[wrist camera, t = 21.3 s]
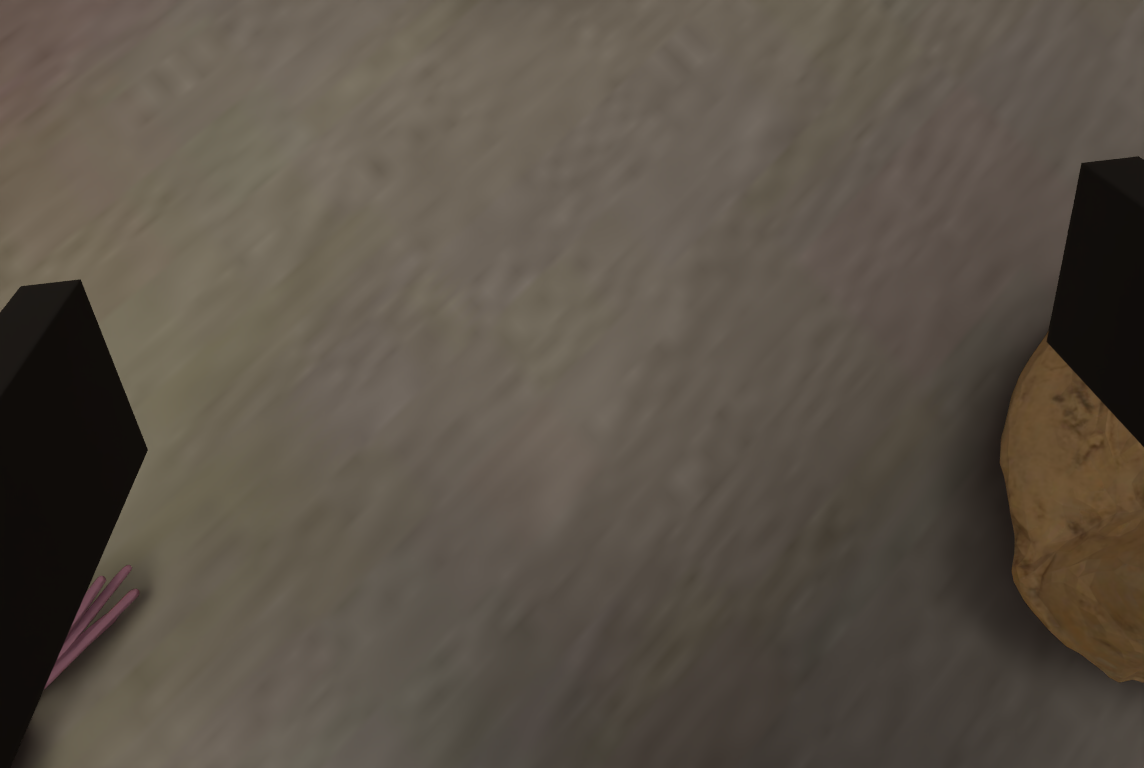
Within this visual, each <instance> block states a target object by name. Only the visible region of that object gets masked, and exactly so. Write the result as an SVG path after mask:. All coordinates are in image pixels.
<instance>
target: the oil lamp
mask: <svg viewBox="0 0 1144 768" xmlns="http://www.w3.org/2000/svg"><path fill="white" fill-rule="evenodd" d="M1047 337H1048V332H1047V334H1046V336H1045V337H1044V339H1043V340H1042V342H1041V343H1040V345H1039V346H1038V347H1037V349H1036V350H1035V352H1034V353H1033V354H1032V356H1031V357H1030V359H1029V361H1028V362H1027V364H1026V366H1025V367H1024V369H1023V371H1022V372H1021V374H1020V376H1019V379H1018V381H1017V384H1016V386H1015V389H1014V391H1013V393H1012V396H1011V401H1010V405H1009V409H1008V413H1007V417H1006V422H1005V426H1004V430H1003V433H1002V437H1001V451H1000V465H1001V468H1002V471H1003V474H1004V478H1005V484H1006V490H1007V496H1008V502H1009V508H1010V514H1011V519H1012V524H1013V529H1014V534H1015V551H1014V559H1013V564H1012V575H1013V580H1014V583H1015V585H1016V587H1017V589H1018V590H1019V592H1020V594H1021V596H1022V598H1023V600H1024V601H1025V602H1026V604H1027V605H1028V606H1029V608H1030V609H1031V610H1032V611H1033V613H1034V614H1035V615H1036V616H1037V617H1038V618H1039V619H1040V621H1041V622H1042V623H1043V624H1044V625H1045V626H1046V627H1047V628H1048V630H1049V631H1050V632H1051V633H1052V634H1053V635H1054V636H1056V637H1057V638H1058V639H1059V640H1060V641H1061V642H1062V643H1063V644H1064V645H1065V646H1066V647H1068V648H1070V649H1072V650H1074V651H1076V652H1078V653H1080V654H1081V655H1082V656H1084V657H1085V658H1086V659H1088V660H1089V661H1090V662H1091V663H1093V664H1094V665H1095V666H1097V667H1098V668H1099V669H1101V670H1102V671H1103V672H1104V673H1105V674H1106V675H1107V676H1108V677H1110V678H1111V679H1113V680H1115V681H1117V682H1119V683H1120V682H1124V681H1129V680H1136V681H1140V682H1143V683H1144V447H1143V446H1142V445H1141V444H1140V443H1139V442H1138V441H1137V439H1136V438H1135V437H1134V436H1133V435H1132V434H1131V433H1130V432H1129V431H1128V430H1127V429H1126V428H1125V426H1124V425H1123V424H1122V423H1121V422H1120V421H1119V420H1118V419H1117V418H1116V417H1115V416H1114V414H1113V413H1112V412H1111V411H1110V410H1109V409H1108V408H1107V407H1106V406H1105V405H1104V404H1103V403H1102V401H1101V400H1100V399H1099V398H1098V397H1097V396H1096V395H1095V394H1094V393H1093V392H1092V391H1091V390H1090V388H1089V387H1088V386H1087V385H1086V384H1085V383H1084V382H1083V381H1082V380H1081V379H1080V378H1079V377H1078V375H1077V374H1076V373H1075V372H1074V371H1073V370H1072V369H1071V368H1070V367H1069V366H1068V365H1067V363H1066V362H1065V361H1064V360H1063V359H1062V358H1061V357H1060V356H1059V355H1058V354H1057V353H1056V352H1055V350H1054V349H1053V348H1052V347H1051V346H1050V345H1049V344H1048V343H1047Z"/></svg>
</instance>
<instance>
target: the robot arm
mask: <svg viewBox="0 0 1144 768" xmlns="http://www.w3.org/2000/svg"><path fill="white" fill-rule="evenodd" d="M1047 343H1048V344H1049V345H1050V346H1051V347H1052V348H1053V349H1054V350H1055V352H1056V353H1057V354H1058V355H1059V356H1060V357H1061V358H1062V359H1063V360H1064V361H1065V362H1066V363H1067V365H1068V366H1069V367H1070V368H1071V369H1072V370H1073V371H1074V372H1075V373H1076V374H1077V375H1078V377H1079V378H1080V379H1081V380H1082V381H1083V382H1084V383H1085V384H1086V385H1087V386H1088V387H1089V388H1090V390H1091V391H1092V392H1093V393H1094V394H1095V395H1096V396H1097V397H1098V398H1099V399H1100V400H1101V401H1102V403H1103V404H1104V405H1105V406H1106V407H1107V408H1108V409H1109V410H1110V411H1111V412H1112V413H1113V414H1114V416H1115V417H1116V418H1117V419H1118V420H1119V421H1120V422H1121V423H1122V424H1123V425H1124V426H1125V428H1126V429H1127V430H1128V431H1129V432H1130V433H1131V434H1132V435H1133V436H1134V437H1135V438H1136V439H1137V441H1138V442H1139V443H1140V444H1141V445H1142V446H1143V447H1144V160H1143V159H1142V158H1140V157H1139V156H1138V157H1130V158H1121V159H1112V160H1104V161H1095V162H1087V163H1081V169H1080V174H1079V179H1078V184H1077V189H1076V194H1075V199H1074V204H1073V209H1072V214H1071V219H1070V225H1069V230H1068V235H1067V240H1066V245H1065V250H1064V255H1063V260H1062V265H1061V270H1060V275H1059V281H1058V286H1057V291H1056V296H1055V301H1054V306H1053V311H1052V316H1051V321H1050V326H1049V331H1048V337H1047ZM147 451H148V449H147V447H146V444H145V442H144V439H143V436H142V434H141V431H140V429H139V426H138V424H137V421H136V419H135V416H134V414H133V411H132V409H131V406H130V404H129V401H128V398H127V396H126V393H125V391H124V388H123V386H122V383H121V381H120V378H119V376H118V373H117V371H116V368H115V366H114V363H113V361H112V358H111V355H110V353H109V350H108V348H107V345H106V343H105V340H104V338H103V335H102V333H101V330H100V328H99V325H98V323H97V320H96V317H95V315H94V312H93V310H92V307H91V305H90V302H89V300H88V297H87V295H86V292H85V290H84V287H83V285H82V282H81V279H80V280H72V281H63V282H55V283H46V284H37V285H29V286H21V287H20V288H19V289H18V290H17V292H16V293H15V294H14V296H13V297H12V298H11V299H10V301H9V302H8V303H7V305H6V306H5V307H4V308H3V310H2V311H1V312H0V768H10V766H11V764H12V762H13V759H14V757H15V755H16V753H17V750H18V748H19V746H20V743H21V741H22V739H23V736H24V734H25V732H26V729H27V727H28V725H29V723H30V720H31V718H32V716H33V713H34V711H35V709H36V706H37V704H38V702H39V700H40V697H41V695H42V693H43V690H44V688H45V686H46V683H47V681H48V679H49V676H50V674H51V672H52V670H53V667H54V665H55V663H56V660H57V658H58V656H59V653H60V651H61V649H62V646H63V644H64V642H65V640H66V637H67V635H68V633H69V630H70V628H71V626H72V623H73V621H74V619H75V617H76V614H77V612H78V610H79V607H80V605H81V603H82V600H83V598H84V596H85V593H86V591H87V589H88V587H89V584H90V582H91V580H92V577H93V575H94V573H95V570H96V568H97V566H98V564H99V561H100V559H101V557H102V554H103V552H104V550H105V547H106V545H107V543H108V540H109V538H110V536H111V534H112V531H113V529H114V527H115V524H116V522H117V520H118V517H119V515H120V513H121V510H122V508H123V506H124V504H125V501H126V499H127V497H128V494H129V492H130V490H131V487H132V485H133V483H134V481H135V478H136V476H137V474H138V471H139V469H140V467H141V464H142V462H143V460H144V457H145V455H146V453H147Z"/></svg>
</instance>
